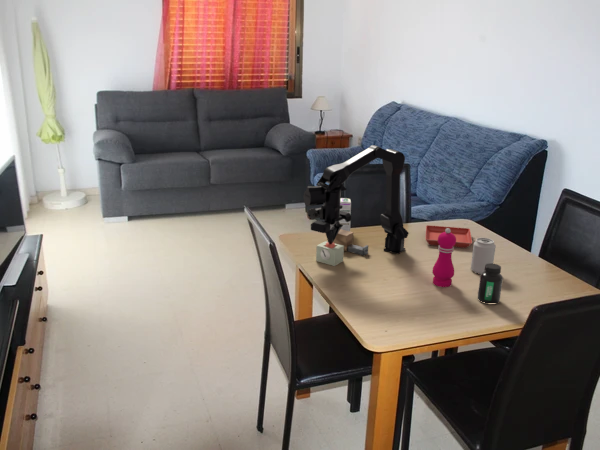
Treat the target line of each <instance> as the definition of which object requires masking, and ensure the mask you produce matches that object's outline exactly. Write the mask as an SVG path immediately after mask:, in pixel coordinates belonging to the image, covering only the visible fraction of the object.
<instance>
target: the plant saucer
mask: <svg viewBox="0 0 600 450" xmlns="http://www.w3.org/2000/svg"><path fill="white" fill-rule="evenodd" d="M447 228H449V229H450V230H451V232H450V233H452V234H454V235H455V237H456V244H455V245H454V246H453V247H454V248H460V249H467V248H468V247H470V246H471V245H472V244H473V240H472V234H471V229H470V228H469V227H466V228H465V227H455V226H443V225H425V236H424V237H425V238H424V239H425V241H426V242H427V244H428V245H430V246H439V243H438V236H439V235H440V234H441V233H443V232H445V230H446V229H447Z"/></svg>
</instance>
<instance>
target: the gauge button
mask: <svg viewBox="0 0 600 450" xmlns="http://www.w3.org/2000/svg"><path fill="white" fill-rule="evenodd" d="M326 247H328V248H334V247H335V243H332V244H329V243H328V241H327V243H326Z"/></svg>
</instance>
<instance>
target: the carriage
mask: <svg viewBox="0 0 600 450" xmlns="http://www.w3.org/2000/svg"><path fill="white" fill-rule="evenodd" d="M333 243H335V244H339V245H342V246H344V252H348V251H347V246H349V245H350V244H353V243H354V232H353V231H351V230H350V231H346V230H342V229H340V231H339V232H338V234H337V236H336V238H335V239H334V241H333ZM353 245H354V244H353Z"/></svg>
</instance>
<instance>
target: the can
mask: <svg viewBox="0 0 600 450" xmlns="http://www.w3.org/2000/svg"><path fill="white" fill-rule="evenodd" d="M472 247H473V248H472V254H471V262H470V270H472V272H473V271H474V272H473V273H475V272H476V273H475V274H477V273H479V274H478V275H481V274H482V273H483V272H484V269H485V265H486V264H488V263H493V264H494V260H495V256H496V255H495V253H496V244H495V241H494V239H492V238H489V237H477V238H476V239H475V241H474V242H473V246H472Z"/></svg>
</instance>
